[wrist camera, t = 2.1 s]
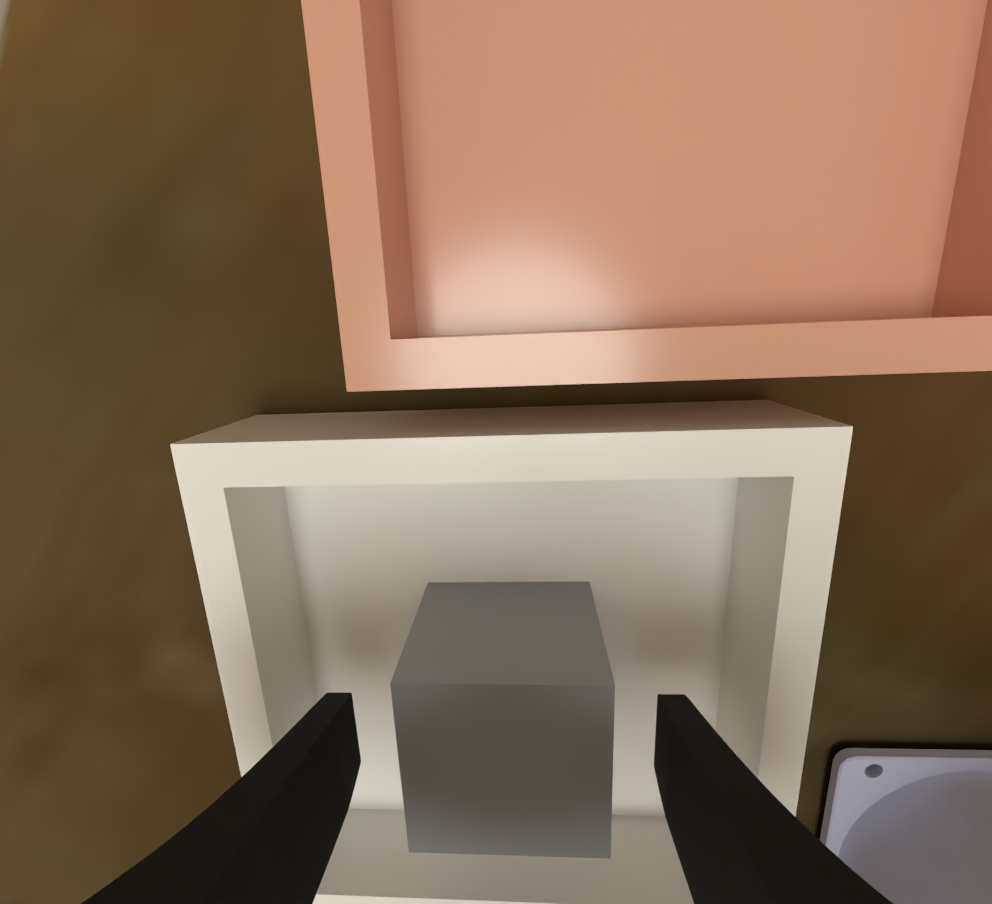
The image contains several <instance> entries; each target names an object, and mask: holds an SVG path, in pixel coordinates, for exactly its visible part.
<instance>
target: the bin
mask: <svg viewBox="0 0 992 904" xmlns="http://www.w3.org/2000/svg"><path fill="white" fill-rule="evenodd" d="M301 3H302V12H303V21H304V29H305V38H306V46H307V55H308V63H309V72H310V80H311V89H312V97H313V106H314V115H315V123H316V132H317V140H318V149H319V157H320V166H321V174H322V183H323V191H324V200H325V208H326V217H327V226H328V234H329V243H330V251H331V260H332V268H333V277H334V285H335V294H336V302H337V311H338V320H339V328H340V337H341V345H342V354H343V362H344V371H345V379H346V388H347V392H354V391H385V390H415V389H446V388H476V387H507V386H537V385H568V384H598V383H629V382H659V381H690V380H720V379H751V378H781V377H812V376H842V375H873V374H903V373H934V372H964V371H992V0H301Z"/></svg>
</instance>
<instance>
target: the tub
mask: <svg viewBox="0 0 992 904" xmlns="http://www.w3.org/2000/svg"><path fill="white" fill-rule="evenodd" d="M852 431H853V426H850V425H847V424H844V423H841V422H837V421H834V420H831V419H828V418H825V417H821V416H818V415H815V414H812V413H809V412H805V411H802V410H799V409H796V408H792V407H789V406H786V405H783V404H780V403H776V402H773V401H770V400H738V401H704V402H671V403H637V404H604V405H571V406H537V407H504V408H470V409H437V410H403V411H370V412H337V413H303V414H270V415H255V416H252V417H249V418H246V419H243V420H240V421H237V422H234V423H232V424H229V425H226V426H223V427H220V428H217V429H214V430H211V431H208V432H205V433H202V434H199V435H196V436H193V437H190V438H187V439H184V440H181V441H178V442H175V443H172V444H170V446H171V451H172V455H173V460H174V465H175V469H176V474H177V479H178V483H179V488H180V493H181V497H182V502H183V507H184V511H185V516H186V521H187V525H188V530H189V535H190V539H191V544H192V549H193V553H194V558H195V563H196V567H197V572H198V577H199V581H200V586H201V591H202V595H203V600H204V605H205V609H206V614H207V619H208V623H209V628H210V633H211V637H212V642H213V647H214V651H215V656H216V661H217V665H218V670H219V675H220V679H221V684H222V689H223V693H224V698H225V703H226V707H227V712H228V717H229V721H230V726H231V731H232V735H233V740H234V745H235V749H236V754H237V759H238V763H239V768H240V773H241V777H242V776H243V775H245V774H246V773H247V772H248V771H249V770H250V769H251V768H252V767H253V766H254V765H255V764H256V763H257V762H258V761H259V760H260V759H261V758H262V757H263V756H264V755H265V754H266V753H267V752H268V751H269V750H270V749H271V748H272V747H273V746H274V745H275V744H276V743H277V742H278V741H279V740H280V739H281V738H282V737H283V736H284V735H285V734H286V733H287V732H288V731H289V730H290V729H291V728H292V727H293V726H294V725H295V724H296V723H297V722H298V721H299V720H300V719H301V718H302V717H303V716H304V715H305V714H306V713H307V712H308V711H309V710H310V709H311V708H312V707H313V706H314V705H315V704H316V703H317V702H318V701H319V700H320V699H321V698H322V697H323V696H324V695H325V694H326V693H352V699H353V706H354V714H355V721H356V728H357V736H358V743H359V750H360V757H361V764H360V768H359V772H358V776H357V780H356V784H355V787H354V791H353V795H352V798H351V802H350V805H349V809H348V812H347V815H346V817H345V820H344V823H343V826H342V828H341V831H340V833H339V836H338V839H337V841H336V844H335V847H334V849H333V852H332V854H331V857H330V860H329V862H328V865H327V867H326V870H325V873H324V875H323V878H322V880H321V883H320V886H319V888H318V891H317V893H316V896H315V899H314V901H313V904H694V902H693V899H692V896H691V893H690V890H689V887H688V884H687V881H686V878H685V875H684V872H683V869H682V866H681V863H680V860H679V857H678V854H677V851H676V848H675V845H674V842H673V839H672V836H671V833H670V830H669V827H668V823H667V820H666V817H665V813H664V809H663V805H662V801H661V796H660V792H659V787H658V783H657V778H656V774H655V769H654V752H655V733H656V714H657V695H658V694H685V695H686V696H687V697H688V698H689V699H690V701H691V702H692V703H693V704H694V705H695V707H696V708H697V709H698V710H699V711H700V713H701V714H702V715H703V716H704V718H705V719H706V720H707V721H708V722H709V724H710V725H711V726H712V727H713V728H714V730H715V731H716V732H717V733H718V734H719V735H720V737H721V738H722V739H723V740H724V741H725V742H726V744H727V745H728V746H729V747H730V748H731V749H732V750H733V752H734V753H735V754H736V755H737V756H738V757H739V758H740V759H741V761H742V762H743V763H744V764H745V765H746V766H747V767H748V768H749V769H750V770H751V771H752V773H753V774H754V775H755V776H756V777H757V778H758V779H759V780H760V781H761V782H762V783H763V785H764V786H765V787H766V788H767V789H768V790H769V791H770V792H771V793H772V794H773V795H774V796H775V797H776V798H777V799H778V800H779V801H780V802H781V803H782V804H783V805H784V806H785V807H786V808H787V809H788V810H789V811H790V812H791V813H792V814H793V815H794V816H795V817H796V810H797V804H798V797H799V790H800V783H801V776H802V770H803V763H804V756H805V749H806V743H807V736H808V729H809V722H810V716H811V709H812V702H813V695H814V688H815V682H816V675H817V668H818V661H819V655H820V648H821V641H822V634H823V628H824V621H825V614H826V607H827V600H828V594H829V587H830V580H831V573H832V567H833V560H834V553H835V546H836V539H837V533H838V526H839V519H840V512H841V506H842V499H843V492H844V485H845V479H846V472H847V465H848V458H849V451H850V445H851V438H852ZM588 581H589V582H590V586H591V590H592V594H593V599H594V603H595V607H596V611H597V615H598V619H599V623H600V627H601V631H602V635H603V639H604V643H605V647H606V651H607V655H608V659H609V663H610V667H611V671H612V675H613V679H614V683H615V707H614V746H613V785H612V824H611V859H608V858H576V857H544V856H512V855H480V854H448V853H416V852H409V849H408V840H407V831H406V822H405V813H404V804H403V795H402V786H401V777H400V768H399V759H398V750H397V741H396V732H395V723H394V714H393V705H392V696H391V687H390V682H391V680H392V677H393V674H394V672H395V669H396V666H397V664H398V661H399V658H400V656H401V653H402V651H403V648H404V645H405V643H406V640H407V637H408V635H409V632H410V629H411V627H412V624H413V621H414V619H415V616H416V613H417V611H418V608H419V605H420V603H421V600H422V597H423V595H424V592H425V589H426V587H427V584H428V582H588Z"/></svg>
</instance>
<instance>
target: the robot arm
mask: <svg viewBox="0 0 992 904" xmlns="http://www.w3.org/2000/svg"><path fill="white" fill-rule="evenodd" d="M360 764H361V757H360V750H359V743H358V736H357V728H356V721H355V714H354V706H353V699H352V693H326V694H325V695H324V696H323V697H322V698H321V699H320V700H319V701H318V702H317V703H316V704H315V705H314V706H313V707H312V708H311V709H310V710H309V711H308V712H307V713H306V714H305V715H304V716H303V717H302V718H301V719H300V720H299V721H298V722H297V723H296V724H295V725H294V726H293V727H292V728H291V729H290V730H289V731H288V732H287V733H286V734H285V735H284V736H283V737H282V738H281V739H280V740H279V741H278V742H277V743H276V744H275V745H274V746H273V747H272V748H271V749H270V750H269V751H268V752H267V753H266V754H265V755H264V756H263V757H262V758H261V759H260V760H259V761H258V762H257V763H256V764H255V765H254V766H253V767H252V768H251V769H250V770H249V771H248V772H247V773H246V774H245V775H243V776H242V777H241V778H240V779H239V780H238V781H237V782H236V783H235V784H234V785H233V786H231V787H230V788H229V789H228V790H227V791H226V792H225V793H224V794H223V795H222V796H221V797H219V798H218V799H217V800H216V801H215V802H214V803H213V804H212V805H211V806H209V807H208V808H207V809H206V810H205V811H204V812H202V813H201V814H200V815H199V816H198V817H196V818H195V819H194V820H193V821H192V822H190V823H189V824H188V825H187V826H185V827H184V828H183V829H182V830H180V831H179V832H178V833H177V834H176V835H174V836H173V837H172V838H171V839H169V840H168V841H167V842H166V843H164V844H163V845H162V846H160V847H159V848H158V849H157V850H155V851H154V852H153V853H151V854H150V855H149V856H147V857H146V858H144V859H143V860H142V861H140V862H139V863H138V864H136V865H135V866H133V867H132V868H131V869H129V870H128V871H126V872H125V873H124V874H122V875H121V876H120V877H118V878H117V879H115V880H114V881H113V882H111V883H110V884H109V885H107V886H106V887H104V888H103V889H102V890H100V891H99V892H97V893H96V894H95V895H93V896H92V897H90V898H89V899H87V900H86V901H84V902H83V903H81V904H313V901H314V899H315V896H316V893H317V891H318V888H319V886H320V883H321V880H322V878H323V875H324V873H325V870H326V867H327V865H328V862H329V860H330V857H331V854H332V852H333V849H334V847H335V844H336V841H337V839H338V836H339V833H340V831H341V828H342V826H343V823H344V820H345V817H346V815H347V812H348V809H349V805H350V802H351V798H352V795H353V791H354V787H355V784H356V780H357V776H358V772H359V768H360ZM654 769H655V774H656V778H657V783H658V787H659V792H660V796H661V801H662V805H663V809H664V813H665V817H666V820H667V823H668V827H669V830H670V833H671V836H672V839H673V842H674V845H675V848H676V851H677V854H678V857H679V860H680V863H681V866H682V869H683V872H684V875H685V878H686V881H687V884H688V887H689V890H690V893H691V896H692V899H693V902H694V904H992V750H950V749H887V748H846V749H843V750H841V751H839V752H838V753H837V754H836V755H835V757H834V759H833V763H832V769H831V775H830V781H829V787H828V793H827V799H826V805H825V811H824V817H823V823H822V829H821V835H820V840H819V839H818V838H817V837H815V836H814V835H813V834H812V833H811V832H810V831H809V830H808V829H807V828H806V827H805V826H804V825H803V824H802V823H801V822H800V821H799V820H798V819H797V818H796V817H795V816H794V815H793V814H792V813H791V812H790V811H789V810H788V809H787V808H786V807H785V806H784V805H783V804H782V803H781V802H780V801H779V800H778V799H777V798H776V797H775V796H774V795H773V794H772V793H771V792H770V791H769V790H768V789H767V788H766V787H765V786H764V785H763V783H762V782H761V781H760V780H759V779H758V778H757V777H756V776H755V775H754V774H753V773H752V771H751V770H750V769H749V768H748V767H747V766H746V765H745V764H744V763H743V762H742V761H741V759H740V758H739V757H738V756H737V755H736V754H735V753H734V752H733V750H732V749H731V748H730V747H729V746H728V745H727V744H726V742H725V741H724V740H723V739H722V738H721V737H720V735H719V734H718V733H717V732H716V731H715V730H714V728H713V727H712V726H711V725H710V724H709V722H708V721H707V720H706V719H705V718H704V716H703V715H702V714H701V713H700V711H699V710H698V709H697V708H696V707H695V705H694V704H693V703H692V702H691V701H690V699H689V698H688V697H687V696H686V695H685V694H658V695H657V714H656V733H655V752H654Z"/></svg>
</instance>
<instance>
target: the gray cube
mask: <svg viewBox="0 0 992 904" xmlns="http://www.w3.org/2000/svg"><path fill="white" fill-rule="evenodd" d="M390 687H391V696H392V705H393V714H394V723H395V732H396V741H397V750H398V759H399V768H400V777H401V786H402V795H403V804H404V813H405V822H406V831H407V840H408V849H409V852H416V853H448V854H480V855H512V856H544V857H576V858H608V859H611V824H612V785H613V746H614V707H615V683H614V679H613V675H612V671H611V667H610V663H609V659H608V655H607V651H606V647H605V643H604V639H603V635H602V631H601V627H600V623H599V619H598V615H597V611H596V607H595V603H594V599H593V594H592V590H591V586H590V582H589V581H588V582H428V584H427V587H426V589H425V592H424V595H423V597H422V600H421V603H420V605H419V608H418V611H417V613H416V616H415V619H414V621H413V624H412V627H411V629H410V632H409V635H408V637H407V640H406V643H405V645H404V648H403V651H402V653H401V656H400V658H399V661H398V664H397V666H396V669H395V672H394V674H393V677H392V680H391V682H390Z"/></svg>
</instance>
